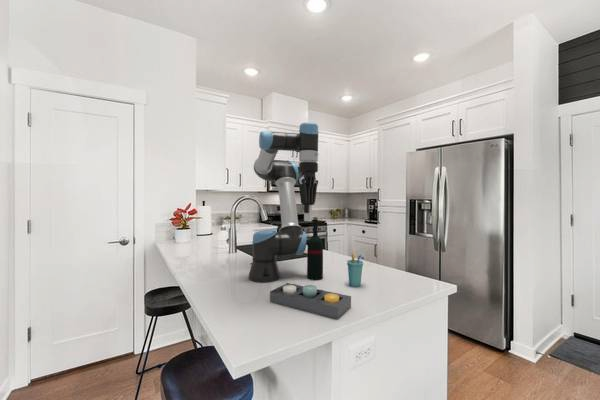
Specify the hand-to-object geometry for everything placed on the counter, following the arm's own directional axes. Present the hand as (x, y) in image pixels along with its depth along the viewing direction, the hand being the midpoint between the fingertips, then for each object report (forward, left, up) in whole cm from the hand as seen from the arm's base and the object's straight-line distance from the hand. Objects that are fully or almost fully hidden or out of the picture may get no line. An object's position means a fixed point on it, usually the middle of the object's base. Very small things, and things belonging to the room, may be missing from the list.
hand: (308, 221), depth 112 cm
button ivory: (-4, -7, -29) cm, 30 cm away
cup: (+12, +23, -31) cm, 40 cm away
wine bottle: (-10, +24, -31) cm, 40 cm away
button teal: (+5, -7, -27) cm, 29 cm away
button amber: (+14, -7, -29) cm, 33 cm away
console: (+5, -7, -30) cm, 32 cm away
